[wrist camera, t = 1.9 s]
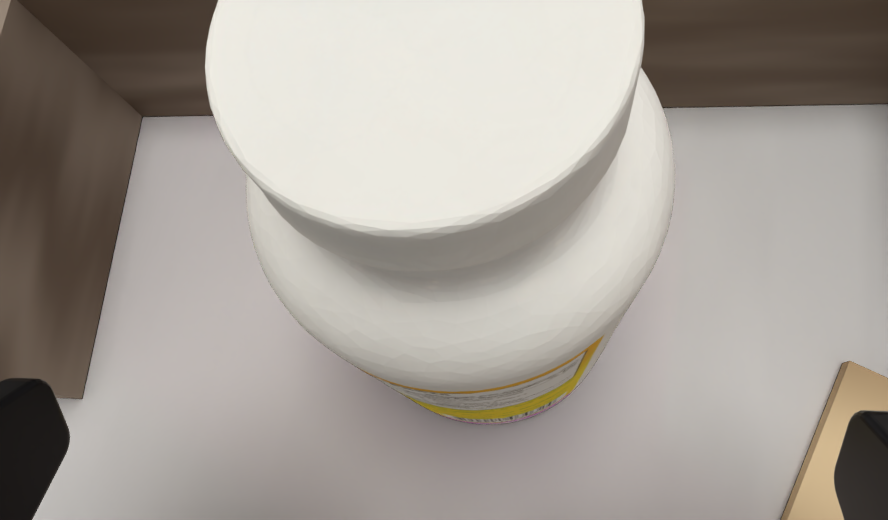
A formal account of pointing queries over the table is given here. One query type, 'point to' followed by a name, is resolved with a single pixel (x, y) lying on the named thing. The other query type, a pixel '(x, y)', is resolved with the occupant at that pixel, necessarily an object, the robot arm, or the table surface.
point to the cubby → (185, 94)
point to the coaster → (833, 442)
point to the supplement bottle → (449, 184)
